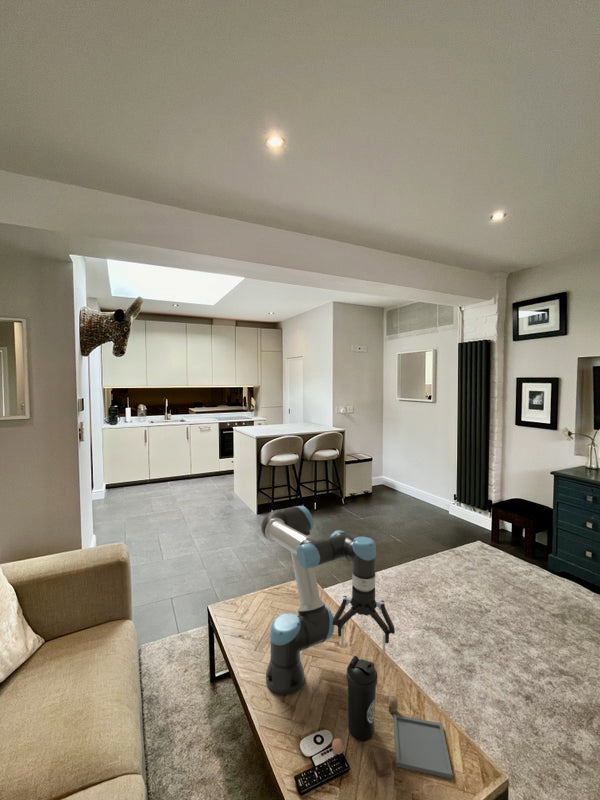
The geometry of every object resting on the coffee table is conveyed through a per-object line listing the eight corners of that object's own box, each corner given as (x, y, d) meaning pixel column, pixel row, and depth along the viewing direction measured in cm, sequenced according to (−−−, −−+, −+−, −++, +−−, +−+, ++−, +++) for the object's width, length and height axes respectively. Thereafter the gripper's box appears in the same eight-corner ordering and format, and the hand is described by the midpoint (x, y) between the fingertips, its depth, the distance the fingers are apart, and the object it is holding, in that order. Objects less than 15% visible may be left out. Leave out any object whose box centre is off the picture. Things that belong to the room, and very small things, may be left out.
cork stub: (388, 714, 123) (389, 702, 123) (388, 706, 126) (388, 694, 126) (397, 715, 122) (397, 703, 122) (397, 708, 125) (397, 696, 125)
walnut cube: (379, 777, 103) (379, 764, 103) (374, 762, 107) (374, 750, 107) (392, 775, 104) (392, 762, 104) (386, 761, 108) (387, 748, 108)
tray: (396, 766, 106) (396, 762, 106) (393, 717, 122) (393, 713, 122) (452, 778, 103) (452, 774, 103) (441, 727, 118) (441, 723, 118)
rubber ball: (331, 756, 109) (331, 745, 109) (332, 744, 112) (332, 733, 112) (342, 758, 108) (343, 747, 108) (343, 747, 112) (343, 736, 111)
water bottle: (369, 750, 111) (371, 680, 110) (340, 733, 116) (341, 666, 115) (380, 724, 119) (381, 659, 118) (352, 709, 125) (353, 647, 124)
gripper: (324, 587, 114) (324, 650, 115) (403, 597, 109) (402, 663, 110) (327, 575, 122) (327, 634, 122) (401, 584, 117) (400, 645, 117)
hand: (362, 648), depth 116 cm, fingers open, 13 cm apart
